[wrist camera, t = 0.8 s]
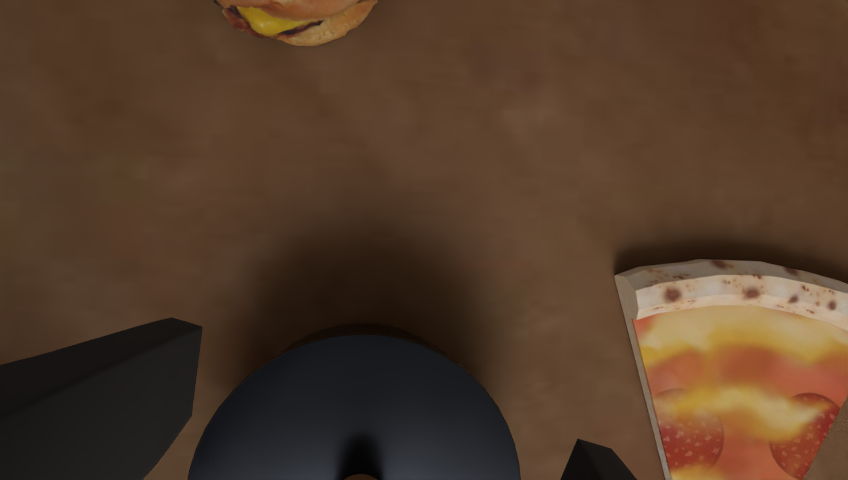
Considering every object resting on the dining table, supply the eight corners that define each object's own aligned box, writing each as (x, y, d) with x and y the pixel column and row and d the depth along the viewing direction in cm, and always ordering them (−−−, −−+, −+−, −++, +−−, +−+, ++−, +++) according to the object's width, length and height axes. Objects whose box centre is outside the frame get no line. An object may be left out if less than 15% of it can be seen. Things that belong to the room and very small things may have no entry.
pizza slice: (478, 519, 27) (486, 543, 25) (668, 174, 28) (692, 170, 26) (703, 633, 29) (728, 663, 27) (877, 305, 30) (914, 311, 28)
